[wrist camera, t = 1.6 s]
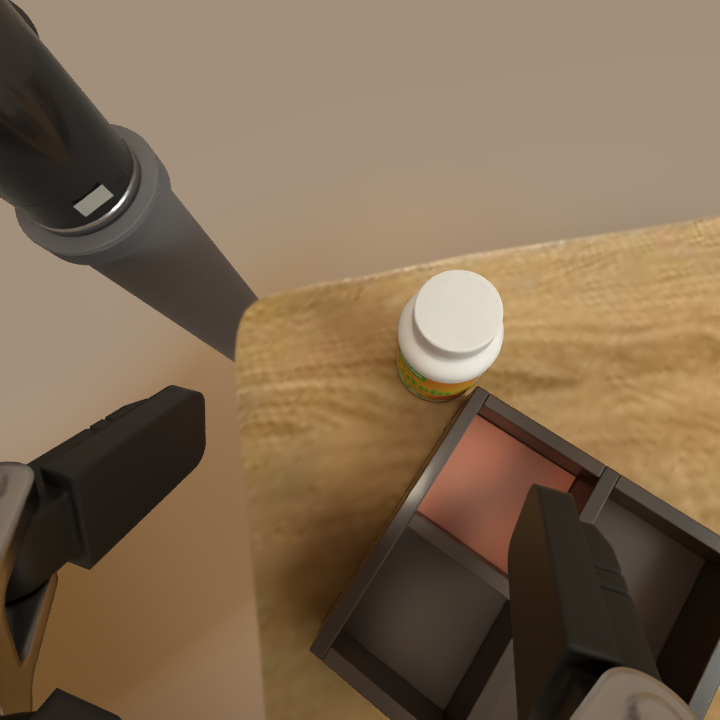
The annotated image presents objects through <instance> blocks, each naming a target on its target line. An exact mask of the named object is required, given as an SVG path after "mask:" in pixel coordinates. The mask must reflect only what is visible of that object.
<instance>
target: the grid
mask: <svg viewBox="0 0 720 720" xmlns="http://www.w3.org/2000/svg"><path fill="white" fill-rule="evenodd" d="M534 483H535V484H538V485H542V486H546V487H550V488H553V489H557V490H561V491H564V492H568V493H571V494H572V496H573V498H574V501H575V504H576V508H577V511H578V514H579V518H580V521H582V522H585V523H589V524H593V525H595V526H596V527H597V528H598V530H599V531H600V532H601V533H602V535H603V536H604V537H605V538H606V540H607V541H608V542H609V543H610V545H611V546H612V547H613V549H614V552H615V555H616V557H617V560H618V563H619V566H620V568H621V571H622V572H621V576H623V577H624V579H625V582H626V585H627V587H628V590H629V593H628V595H629V596H630V597H631V598H632V601H633V604H634V606H635V609H636V612H637V615H638V617H639V620H640V623H641V626H642V628H643V631H644V634H645V636H646V639H647V642H648V645H649V647H650V650H651V653H652V656H653V658H654V661H655V664H656V666H657V669H658V672H659V675H660V677H661V680H662V682H663V684H665V685H666V686H667V687H668V688H670V689H671V690H672V691H674V692H675V693H676V694H677V695H678V696H679V697H680V698H681V699H682V700H683V701H684V702H685V703H686V704H687V705H688V706H689V707H690V708H691V709H692V710H693V712H694V713H695V714H696V715H697V717H698V718H699V719H700V720H703V719H704V717H705V714H706V712H707V710H708V708H709V706H710V704H711V701H712V699H713V697H714V695H715V693H716V690H717V688H718V686H719V684H720V536H719V535H717V534H716V533H714V532H713V531H711V530H709V529H708V528H706V527H705V526H703V525H701V524H700V523H698V522H696V521H695V520H693V519H692V518H690V517H688V516H687V515H685V514H684V513H682V512H680V511H679V510H677V509H676V508H674V507H672V506H671V505H669V504H667V503H666V502H664V501H663V500H661V499H659V498H658V497H656V496H655V495H653V494H651V493H650V492H648V491H647V490H645V489H643V488H642V487H640V486H639V485H637V484H635V483H634V482H632V481H630V480H629V479H627V478H626V477H624V476H622V475H620V474H619V473H617V472H616V471H614V470H613V469H611V468H609V467H608V466H605V465H604V464H603V463H601V462H600V461H598V460H596V459H595V458H593V457H592V456H590V455H588V454H587V453H585V452H584V451H582V450H580V449H579V448H577V447H575V446H574V445H572V444H571V443H569V442H567V441H566V440H564V439H563V438H561V437H559V436H558V435H556V434H555V433H553V432H551V431H550V430H548V429H546V428H545V427H543V426H542V425H540V424H538V423H537V422H535V421H534V420H532V419H530V418H529V417H527V416H526V415H524V414H522V413H521V412H519V411H518V410H516V409H514V408H513V407H511V406H509V405H508V404H506V403H505V402H503V401H501V400H500V399H498V398H497V397H495V396H493V395H492V394H489V392H487V391H485V390H484V389H482V388H481V387H479V386H477V387H476V388H475V389H474V390H473V391H472V392H471V393H470V394H469V395H468V396H467V397H466V399H465V400H464V402H463V403H462V405H461V407H460V408H459V410H458V411H457V413H456V414H455V416H454V417H453V419H452V421H451V422H450V424H449V425H448V427H447V428H446V430H445V432H444V433H443V435H442V436H441V438H440V439H439V441H438V443H437V444H436V446H435V447H434V449H433V450H432V452H431V453H430V455H429V457H428V458H427V460H426V461H425V463H424V464H423V466H422V468H421V469H420V471H419V472H418V474H417V475H416V477H415V479H414V480H413V482H412V483H411V485H410V486H409V488H408V490H407V491H406V493H405V494H404V496H403V497H402V499H401V500H400V502H399V504H398V505H397V507H396V508H395V510H394V511H393V513H392V515H391V516H390V518H389V519H388V521H387V522H386V524H385V526H384V527H383V529H382V530H381V532H380V533H379V535H378V536H377V538H376V540H375V541H374V543H373V544H372V546H371V547H370V549H369V551H368V552H367V554H366V555H365V557H364V558H363V560H362V562H361V563H360V565H359V566H358V568H357V569H356V571H355V573H354V574H353V576H352V577H351V579H350V580H349V582H348V583H347V585H346V587H345V588H344V590H343V591H342V593H341V594H340V596H339V598H338V599H337V601H336V602H335V604H334V605H333V607H332V609H331V610H330V612H329V613H328V615H327V616H326V618H325V619H324V621H323V623H322V624H321V626H320V628H319V630H318V633H317V635H316V637H315V639H314V641H313V643H312V645H311V647H310V651H311V652H312V653H313V654H315V655H316V656H317V657H318V658H319V659H320V660H322V661H323V662H324V663H325V664H326V665H327V666H328V667H330V668H331V669H332V670H333V671H334V672H335V673H337V674H338V675H339V676H340V677H341V678H342V679H344V680H345V681H346V682H347V683H348V684H350V685H351V686H352V687H353V688H354V689H355V690H357V691H358V692H359V693H360V694H361V695H362V696H364V697H365V698H366V699H367V700H368V701H369V702H371V703H372V704H373V705H374V706H375V707H376V708H378V709H379V710H380V711H381V712H382V713H384V714H385V715H386V716H387V717H388V718H389V719H391V720H518V713H517V699H516V684H515V669H514V654H513V640H512V625H511V610H510V596H509V581H508V566H507V560H508V550H509V544H510V540H511V536H512V533H513V531H514V528H515V525H516V523H517V520H518V517H519V515H520V512H521V509H522V507H523V504H524V502H525V499H526V496H527V494H528V491H529V489H530V487H531V486H532V484H534Z"/></svg>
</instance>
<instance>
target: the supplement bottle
mask: <svg viewBox="0 0 720 720" xmlns="http://www.w3.org/2000/svg"><path fill="white" fill-rule="evenodd" d="M502 319H503V305H502V301H501V298H500V296H499V294H498V292H497V290H496V289H495V287H494V286H493V285H492V284H491V283H490V282H489V281H488V280H486V279H485V278H484V277H482V276H480V275H478V274H476V273H474V272H471V271H467V270H448V271H444V272H441V273H439V274H437V275H435V276H433V277H431V278H430V279H429V280H428V281H426V282H425V283H424V284H423V286H422V287H421V288H420V290H419V291H418V292H417V293H416V294H415V295H414V296H412V297H411V299H410V300H409V301H408V302H407V304H406V305H405V307H404V308H403V311H402V313H401V316H400V319H399V323H398V332H397V368H398V372H399V375H400V377H401V380H402V381H403V383H404V384H405V386H406V387H407V388H408V389H409V390H410V391H411V392H412V393H414V394H415V395H417V396H418V397H420V398H422V399H425V400H429V401H435V402H443V401H449V400H452V399H455V398H457V397H459V396H461V395H462V394H463V393H465V392H466V391H467V390H468V389H469V388H470V387H471V386H472V385H473V384H474V383H475V382H476V381H477V379H478V378H479V377H480V376H481V375H482V374H483V373H484V372H485V371H486V370H487V369H488V368H489V367H490V366H491V365H492V363H493V362H494V361H495V359H496V357H497V356H498V354H499V352H500V349H501V346H502V342H503V323H502Z"/></svg>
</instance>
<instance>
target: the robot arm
mask: <svg viewBox="0 0 720 720" xmlns="http://www.w3.org/2000/svg"><path fill="white" fill-rule="evenodd" d="M140 184H141V166H140V162H139V159H138V157H137V155H136V154H135V152H134V151H133V150H132V148H131V147H130V146H129V145H128V144H127V142H126V141H125V140H124V139H123V138H122V137H121V136H119V135H118V133H117V132H116V131H115V130H114V129H113V127H112V126H111V125H110V124H109V123H108V121H107V120H106V119H105V118H104V117H103V115H102V114H101V113H100V112H99V110H98V109H97V108H96V106H95V105H94V104H93V103H92V102H91V100H90V99H89V98H88V97H87V96H86V94H85V93H84V92H83V91H82V90H81V88H80V87H79V86H78V85H77V84H76V83H75V81H74V80H73V79H72V77H71V76H70V75H69V74H68V73H67V71H66V70H65V69H64V68H63V67H62V65H61V64H60V63H59V62H58V61H57V59H56V58H55V57H54V56H53V55H52V53H51V52H50V51H49V50H48V48H47V47H46V46H45V45H44V44H43V42H42V41H41V40H40V39H39V36H38V33H37V31H36V28H35V26H34V24H33V23H32V21H31V20H30V18H29V17H28V16H27V15H26V14H25V12H24V11H23V10H22V9H21V8H19V7H18V6H17V5H16V4H14V3H13V2H11V1H10V0H0V197H1V198H2V199H4V200H5V201H7V202H8V203H10V204H11V205H13V206H14V207H15V208H17V209H18V210H20V211H21V212H23V213H24V214H26V215H27V216H28V217H29V218H30V219H31V220H32V221H33V222H35V223H36V224H38V225H39V226H41V227H42V228H44V229H45V230H47V231H48V232H50V233H53V234H55V235H59V236H64V237H80V236H86V235H90V234H93V233H96V232H98V231H100V230H103V229H105V228H106V227H108V226H110V225H111V224H113V223H114V222H115V221H117V220H118V219H119V218H120V217H121V216H122V215H123V214H124V213H125V212H126V211H127V210H128V209H129V207H130V206H131V204H132V203H133V201H134V200H135V198H136V196H137V193H138V191H139V188H140ZM205 445H206V437H205V400H204V396H203V395H202V393H200V392H197V391H193V390H190V389H186V388H182V387H178V386H175V385H171V386H168V387H166V388H165V389H163V390H161V391H160V392H158V393H157V394H155V395H153V396H152V397H150V398H148V399H144V400H141V401H138V402H135V403H132V404H129V405H125V406H123V407H121V408H120V409H118V410H116V411H115V412H113V413H112V414H110V415H108V416H106V418H105V420H103V419H102V420H100V421H98V422H97V423H95V424H93V425H91V426H90V429H85V430H83V431H82V432H80V433H78V434H77V435H75V436H74V437H72V438H70V439H68V440H67V441H65V442H64V443H62V444H60V445H58V446H57V447H55V448H53V449H52V450H50V451H48V452H47V453H45V454H43V455H42V456H40V457H38V458H37V459H35V460H33V461H32V462H30V463H28V464H27V465H25V464H22V463H18V462H0V720H121V719H120V717H118V716H117V715H115V714H113V713H111V712H109V711H106V710H104V709H102V708H100V707H98V706H95V705H93V704H91V703H89V702H87V701H84V700H82V699H80V698H78V697H76V696H73V695H71V694H69V693H66V692H65V691H62V690H60V689H58V688H56V689H55V690H54V692H53V693H52V694H51V695H50V696H49V697H48V699H47V700H46V701H45V702H44V703H43V704H42V706H41V707H40V708H39V709H38V710H37V711H33V712H32V684H33V676H34V671H35V667H36V663H37V659H38V656H39V652H40V648H41V644H42V640H43V637H44V633H45V629H46V625H47V621H48V617H49V614H50V610H51V606H52V602H53V598H54V595H55V591H56V587H57V582H58V576H57V571H58V570H59V569H60V568H61V567H62V566H63V565H64V564H65V563H67V562H70V563H73V564H76V565H78V566H81V567H83V568H86V569H89V570H90V569H91V568H92V567H93V566H94V565H95V564H96V563H97V562H98V561H99V560H100V559H101V558H102V557H103V556H105V555H106V554H107V553H108V552H109V551H110V550H111V549H112V548H113V547H114V546H115V545H116V544H117V543H118V542H119V541H120V540H121V539H122V538H123V537H124V536H125V535H126V534H127V533H128V532H129V531H131V530H132V528H134V527H135V526H136V525H137V524H138V523H139V522H140V521H141V520H142V519H143V518H144V517H145V516H146V515H147V514H148V513H149V512H150V511H151V510H152V509H153V508H154V507H155V506H156V505H157V504H158V503H159V502H161V501H162V500H163V499H164V498H165V497H166V496H167V495H168V494H169V493H170V492H171V491H172V490H173V489H174V488H175V487H176V486H177V485H178V484H179V483H180V482H181V481H182V480H183V479H184V478H185V477H186V476H187V475H188V474H190V473H191V472H192V470H194V468H196V467H197V465H198V464H199V462H200V461H201V459H202V456H203V454H204V450H205ZM507 566H508V581H509V596H510V610H511V625H512V640H513V654H514V669H515V684H516V699H517V713H518V720H700V719H699V718H698V717H697V715H696V714H695V713H694V712H693V710H692V709H691V708H690V707H689V706H688V705H687V704H686V703H685V702H684V701H683V700H682V699H681V698H680V697H679V696H678V695H677V694H676V693H675V692H674V691H672V690H671V689H670V688H668V687H667V686H666V685H665V684H663V682H662V680H661V677H660V675H659V672H658V669H657V666H656V664H655V661H654V658H653V656H652V653H651V650H650V647H649V645H648V642H647V639H646V636H645V634H644V631H643V628H642V626H641V623H640V620H639V617H638V615H637V612H636V609H635V606H634V604H633V601H632V598H631V597H630V596H629V595H628V593H629V590H628V587H627V585H626V582H625V579H624V577H623V576H621V572H622V571H621V568H620V566H619V563H618V560H617V557H616V555H615V552H614V549H613V547H612V546H611V545H610V543H609V542H608V541H607V540H606V538H605V537H604V536H603V535H602V533H601V532H600V531H599V530H598V528H597V527H596V526H595V525H593V524H589V523H585V522H582V521H580V518H579V514H578V511H577V508H576V504H575V501H574V498H573V496H572V494H571V493H568V492H564V491H561V490H557V489H553V488H550V487H546V486H542V485H538V484H535V483H534V484H532V486H531V487H530V489H529V491H528V494H527V496H526V499H525V502H524V504H523V507H522V509H521V512H520V515H519V517H518V520H517V523H516V525H515V528H514V531H513V533H512V536H511V540H510V544H509V550H508V560H507Z"/></svg>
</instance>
